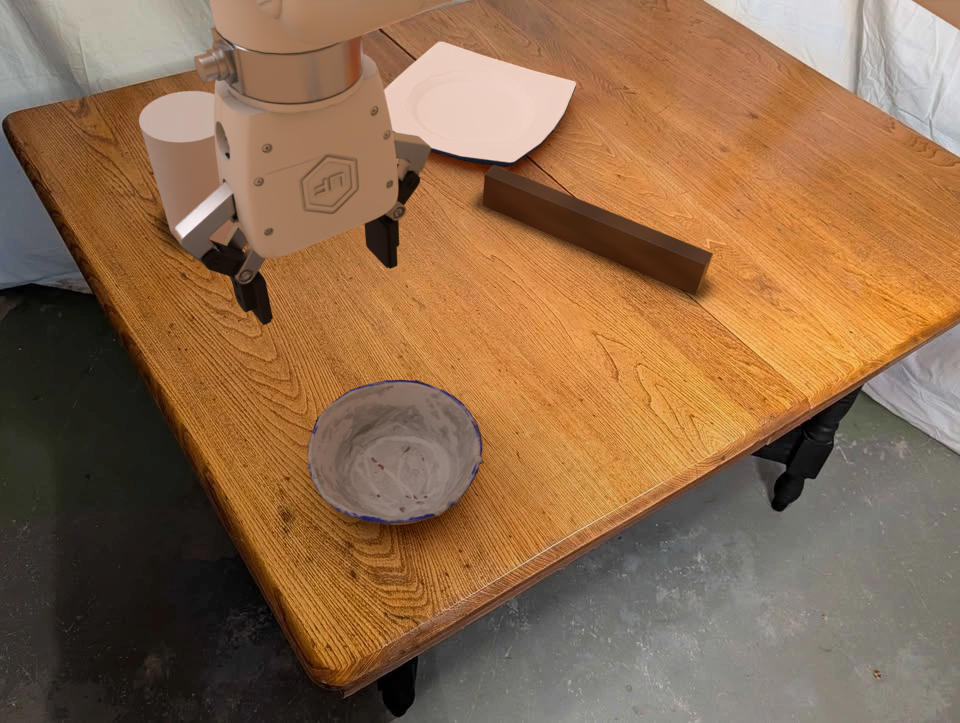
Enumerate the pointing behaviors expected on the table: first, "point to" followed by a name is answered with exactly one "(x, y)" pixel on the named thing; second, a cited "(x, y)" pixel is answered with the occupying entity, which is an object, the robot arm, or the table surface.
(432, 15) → the table surface
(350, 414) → the bowl
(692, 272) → the rail
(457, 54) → the plate
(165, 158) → the pink tall cylinder
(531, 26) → the table surface
